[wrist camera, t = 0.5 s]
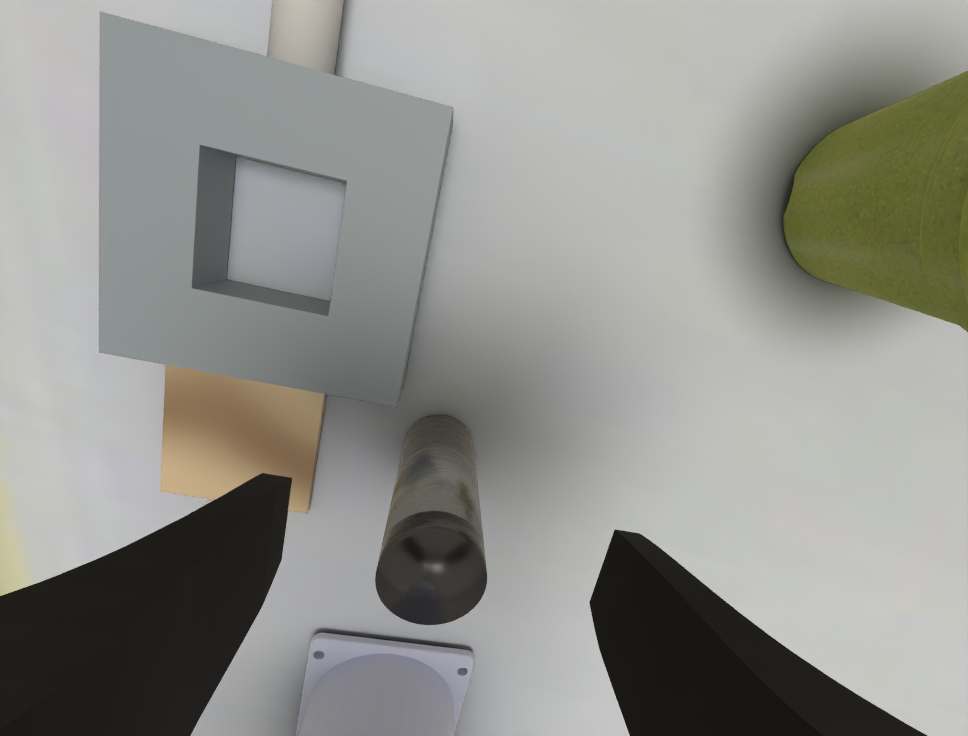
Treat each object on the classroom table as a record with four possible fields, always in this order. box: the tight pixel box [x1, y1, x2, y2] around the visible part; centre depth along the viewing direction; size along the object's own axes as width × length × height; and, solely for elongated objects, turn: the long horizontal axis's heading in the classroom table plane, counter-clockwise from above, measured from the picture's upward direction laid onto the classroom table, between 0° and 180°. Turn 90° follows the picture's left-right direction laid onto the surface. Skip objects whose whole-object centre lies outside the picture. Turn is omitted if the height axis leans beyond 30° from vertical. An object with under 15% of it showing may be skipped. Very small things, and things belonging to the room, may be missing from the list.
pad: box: [160, 365, 326, 514], centre depth 19 cm, size 6×6×1 cm
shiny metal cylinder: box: [375, 415, 487, 625], centre depth 16 cm, size 3×3×8 cm
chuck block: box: [99, 0, 453, 407], centre depth 15 cm, size 20×10×2 cm, turn 167°
